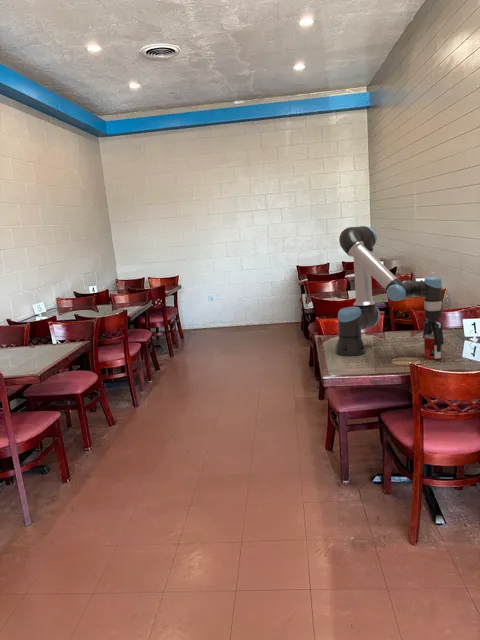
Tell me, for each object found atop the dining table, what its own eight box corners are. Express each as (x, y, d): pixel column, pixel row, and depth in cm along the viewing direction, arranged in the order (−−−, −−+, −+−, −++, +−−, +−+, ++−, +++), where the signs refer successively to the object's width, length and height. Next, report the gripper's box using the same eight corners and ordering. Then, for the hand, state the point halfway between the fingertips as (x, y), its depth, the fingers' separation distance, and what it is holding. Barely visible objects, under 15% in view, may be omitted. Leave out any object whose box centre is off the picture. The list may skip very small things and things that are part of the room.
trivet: (387, 359, 232) (387, 358, 232) (413, 357, 233) (413, 355, 232) (397, 367, 219) (397, 365, 219) (425, 364, 220) (425, 362, 220)
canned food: (431, 360, 226) (431, 337, 224) (420, 356, 233) (420, 334, 231) (445, 358, 228) (445, 336, 226) (434, 354, 235) (434, 333, 233)
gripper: (452, 312, 216) (451, 360, 220) (430, 305, 237) (430, 349, 241) (436, 313, 216) (435, 362, 219) (415, 307, 237) (415, 350, 241)
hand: (432, 355), depth 230 cm, fingers open, 9 cm apart
